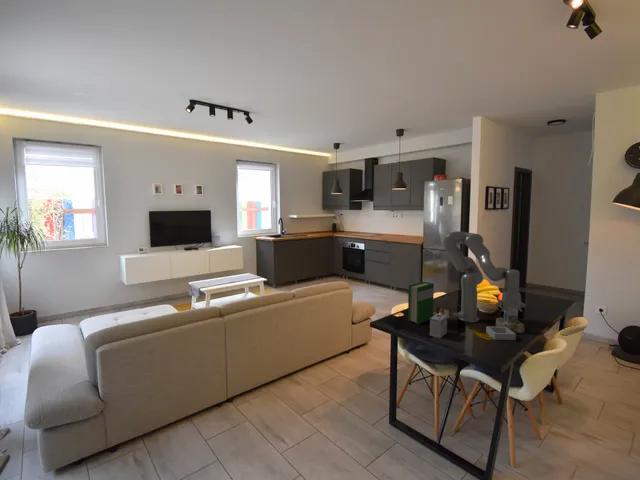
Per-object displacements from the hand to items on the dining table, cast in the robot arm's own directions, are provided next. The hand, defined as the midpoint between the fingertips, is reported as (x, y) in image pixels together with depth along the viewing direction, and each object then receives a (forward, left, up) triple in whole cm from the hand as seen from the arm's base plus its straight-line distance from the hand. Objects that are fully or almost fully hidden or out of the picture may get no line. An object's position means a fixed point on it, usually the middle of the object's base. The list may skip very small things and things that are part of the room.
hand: (510, 317), depth 204 cm
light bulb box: (-46, -11, -8) cm, 48 cm away
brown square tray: (0, 0, -7) cm, 7 cm away
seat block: (-11, -12, -7) cm, 17 cm away
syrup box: (0, 0, -8) cm, 8 cm away
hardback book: (-51, +14, -8) cm, 53 cm away
